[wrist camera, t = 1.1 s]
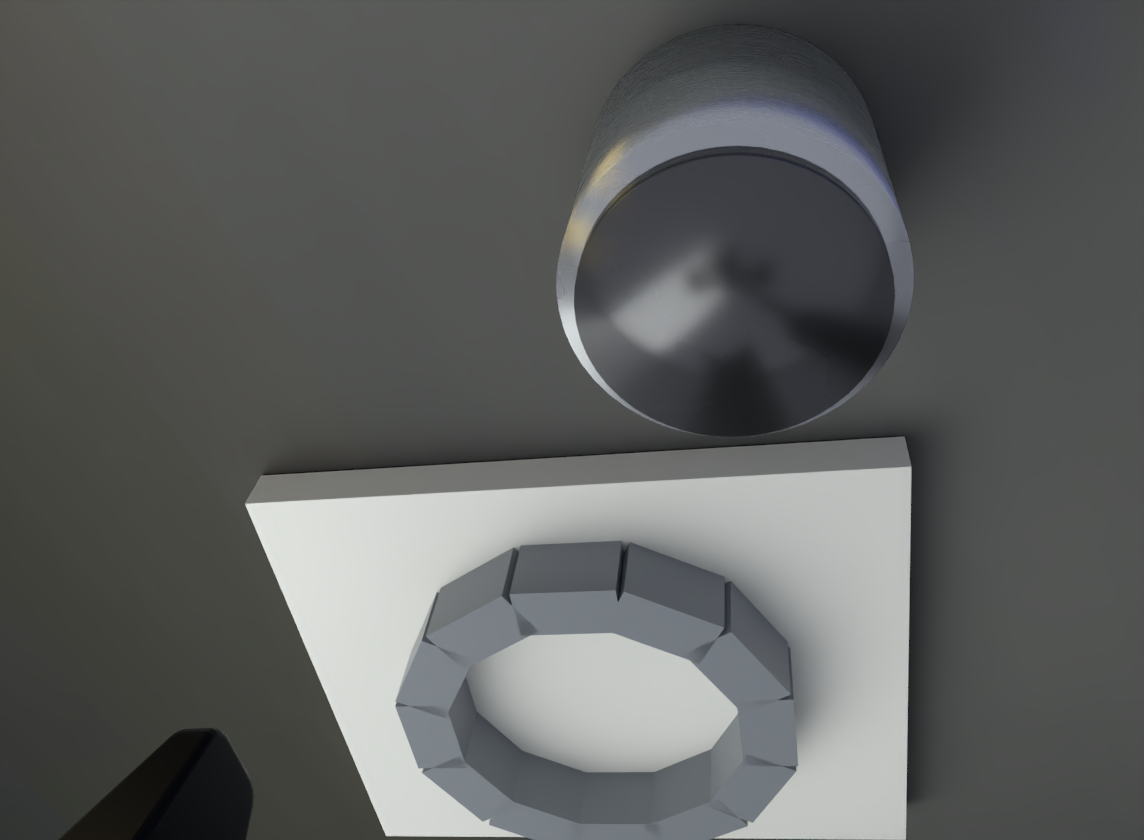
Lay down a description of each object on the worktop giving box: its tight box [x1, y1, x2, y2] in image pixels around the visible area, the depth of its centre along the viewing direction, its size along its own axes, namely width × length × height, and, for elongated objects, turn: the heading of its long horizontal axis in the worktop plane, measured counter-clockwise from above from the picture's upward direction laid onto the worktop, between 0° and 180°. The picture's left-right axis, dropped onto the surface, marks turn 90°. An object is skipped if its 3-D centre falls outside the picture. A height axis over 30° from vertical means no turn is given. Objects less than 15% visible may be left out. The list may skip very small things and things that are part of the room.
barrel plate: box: [245, 436, 911, 840], centre depth 25 cm, size 14×12×2 cm
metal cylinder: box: [556, 24, 914, 437], centre depth 17 cm, size 5×5×5 cm
